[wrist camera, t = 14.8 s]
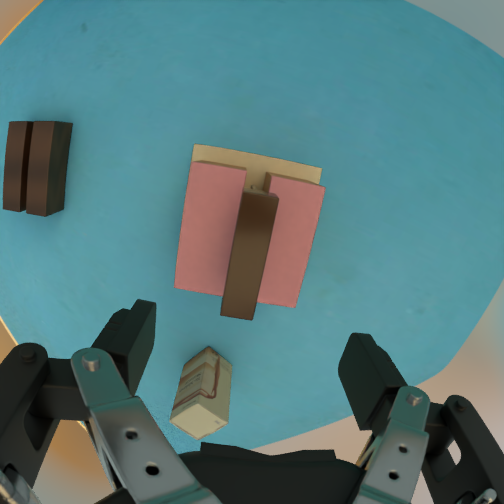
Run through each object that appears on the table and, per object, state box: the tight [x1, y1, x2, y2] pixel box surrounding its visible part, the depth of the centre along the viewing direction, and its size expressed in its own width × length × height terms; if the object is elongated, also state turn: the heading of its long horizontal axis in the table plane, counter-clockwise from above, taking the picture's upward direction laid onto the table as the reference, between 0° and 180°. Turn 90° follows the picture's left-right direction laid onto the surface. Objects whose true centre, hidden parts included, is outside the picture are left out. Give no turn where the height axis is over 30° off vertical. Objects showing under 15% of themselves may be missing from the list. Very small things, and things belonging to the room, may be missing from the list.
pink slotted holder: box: [174, 144, 326, 308], centre depth 29 cm, size 14×13×7 cm
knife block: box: [3, 121, 73, 217], centre depth 27 cm, size 10×7×4 cm
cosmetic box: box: [169, 347, 232, 440], centre depth 33 cm, size 5×4×10 cm
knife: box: [220, 185, 279, 320], centre depth 26 cm, size 9×2×11 cm, turn 169°
